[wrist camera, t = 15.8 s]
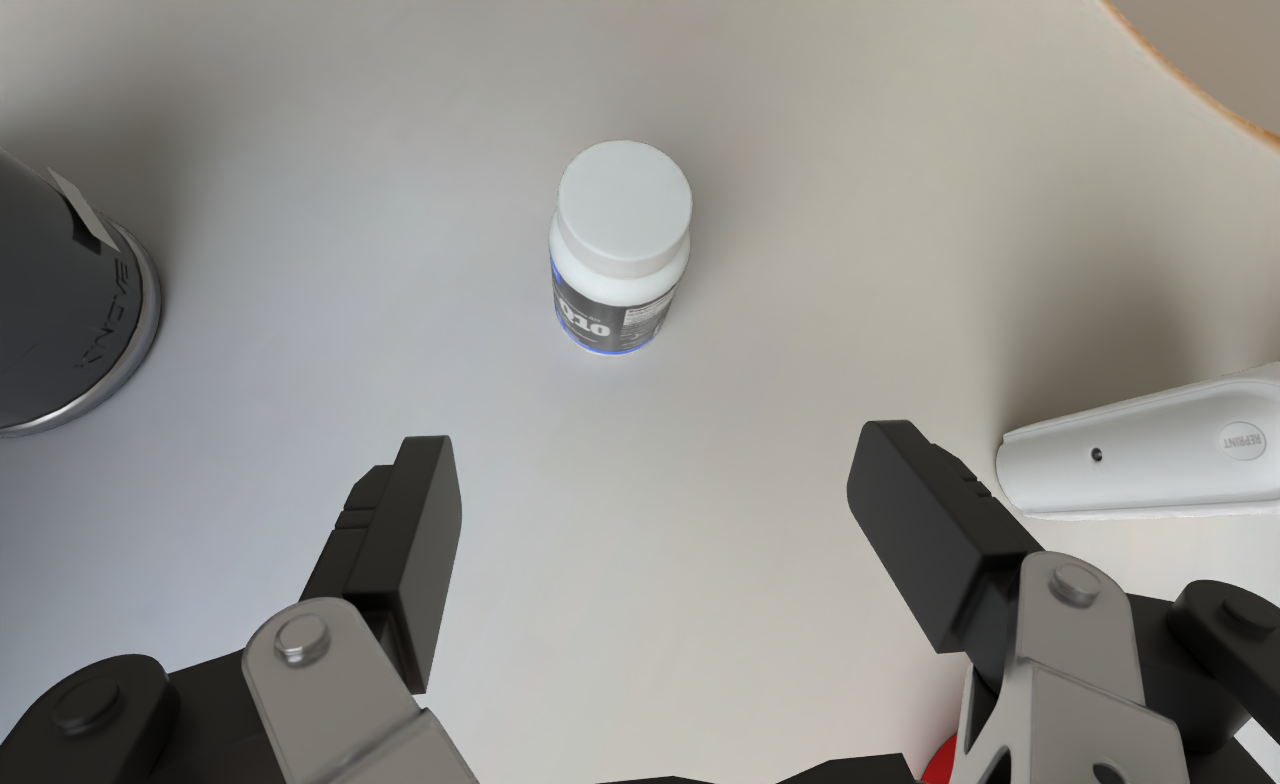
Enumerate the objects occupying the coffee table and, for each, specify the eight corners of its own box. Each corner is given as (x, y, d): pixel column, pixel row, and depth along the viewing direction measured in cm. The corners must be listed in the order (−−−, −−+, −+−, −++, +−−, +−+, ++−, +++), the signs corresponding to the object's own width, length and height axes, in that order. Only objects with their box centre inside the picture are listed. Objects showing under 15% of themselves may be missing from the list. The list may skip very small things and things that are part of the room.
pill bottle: (532, 294, 25) (509, 175, 17) (620, 237, 26) (639, 99, 18) (600, 381, 24) (610, 302, 16) (687, 319, 25) (738, 215, 17)
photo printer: (1004, 530, 24) (1412, 520, 12) (979, 428, 25) (1334, 330, 13) (1220, 504, 26) (1777, 472, 14) (1187, 408, 27) (1681, 301, 15)
